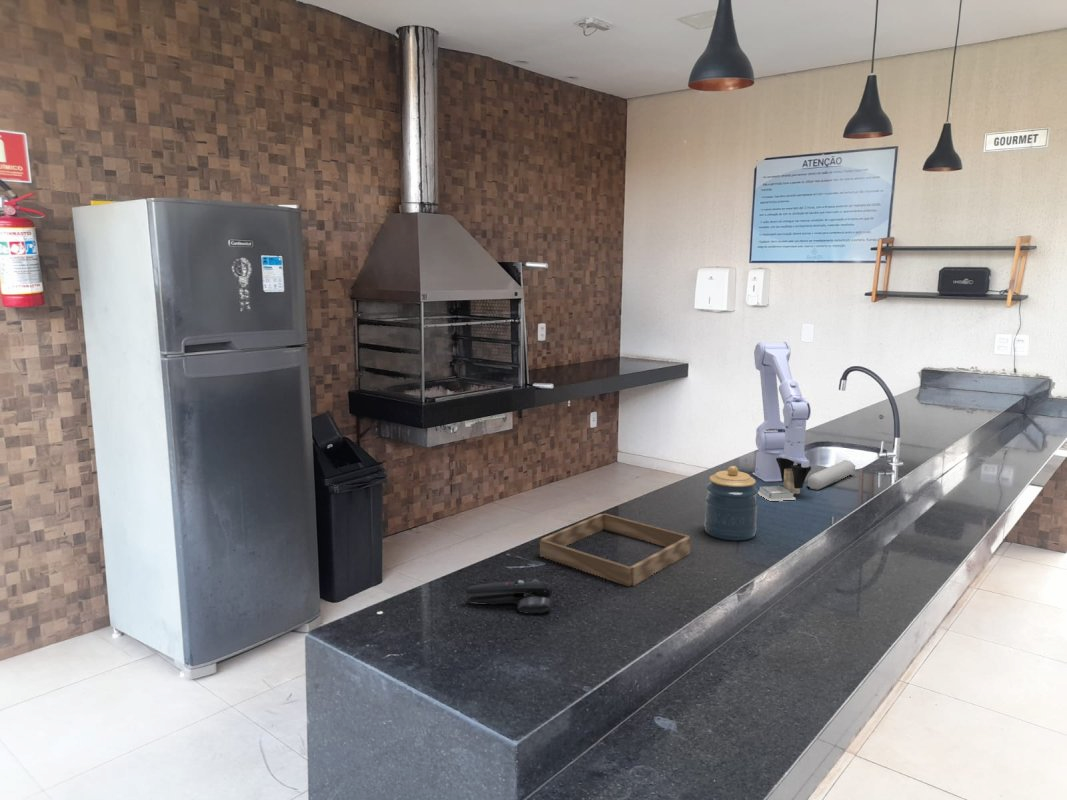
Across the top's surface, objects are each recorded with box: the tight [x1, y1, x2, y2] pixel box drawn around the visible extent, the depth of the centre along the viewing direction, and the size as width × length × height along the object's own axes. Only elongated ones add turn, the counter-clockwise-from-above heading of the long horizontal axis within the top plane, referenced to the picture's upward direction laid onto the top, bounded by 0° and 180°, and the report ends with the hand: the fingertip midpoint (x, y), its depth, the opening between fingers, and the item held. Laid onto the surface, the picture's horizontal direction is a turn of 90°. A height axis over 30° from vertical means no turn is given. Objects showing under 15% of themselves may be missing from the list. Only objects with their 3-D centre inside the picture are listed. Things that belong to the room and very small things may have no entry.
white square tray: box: [759, 485, 795, 499], centre depth 218 cm, size 8×8×2 cm
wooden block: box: [782, 468, 801, 495], centre depth 223 cm, size 4×4×7 cm
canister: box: [703, 465, 760, 542], centre depth 187 cm, size 13×13×18 cm
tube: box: [807, 459, 856, 491], centre depth 234 cm, size 5×5×25 cm
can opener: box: [465, 579, 553, 614], centre depth 147 cm, size 18×7×6 cm, turn 81°
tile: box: [756, 490, 796, 502], centre depth 218 cm, size 8×8×1 cm
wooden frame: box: [539, 513, 692, 587], centre depth 174 cm, size 26×26×4 cm
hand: (791, 484), depth 223 cm, fingers open, 7 cm apart
